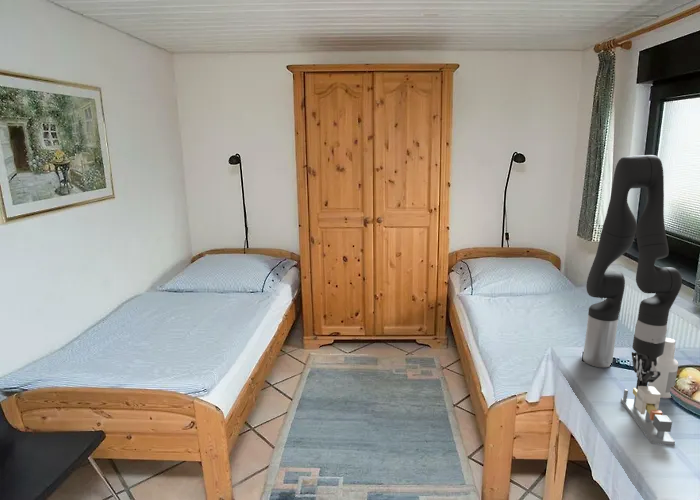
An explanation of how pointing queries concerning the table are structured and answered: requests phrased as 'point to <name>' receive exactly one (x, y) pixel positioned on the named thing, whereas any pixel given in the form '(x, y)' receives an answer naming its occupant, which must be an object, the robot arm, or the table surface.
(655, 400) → the sleeve
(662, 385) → the white bottle
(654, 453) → the table surface
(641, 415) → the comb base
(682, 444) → the table surface
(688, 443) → the table surface
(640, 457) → the table surface
